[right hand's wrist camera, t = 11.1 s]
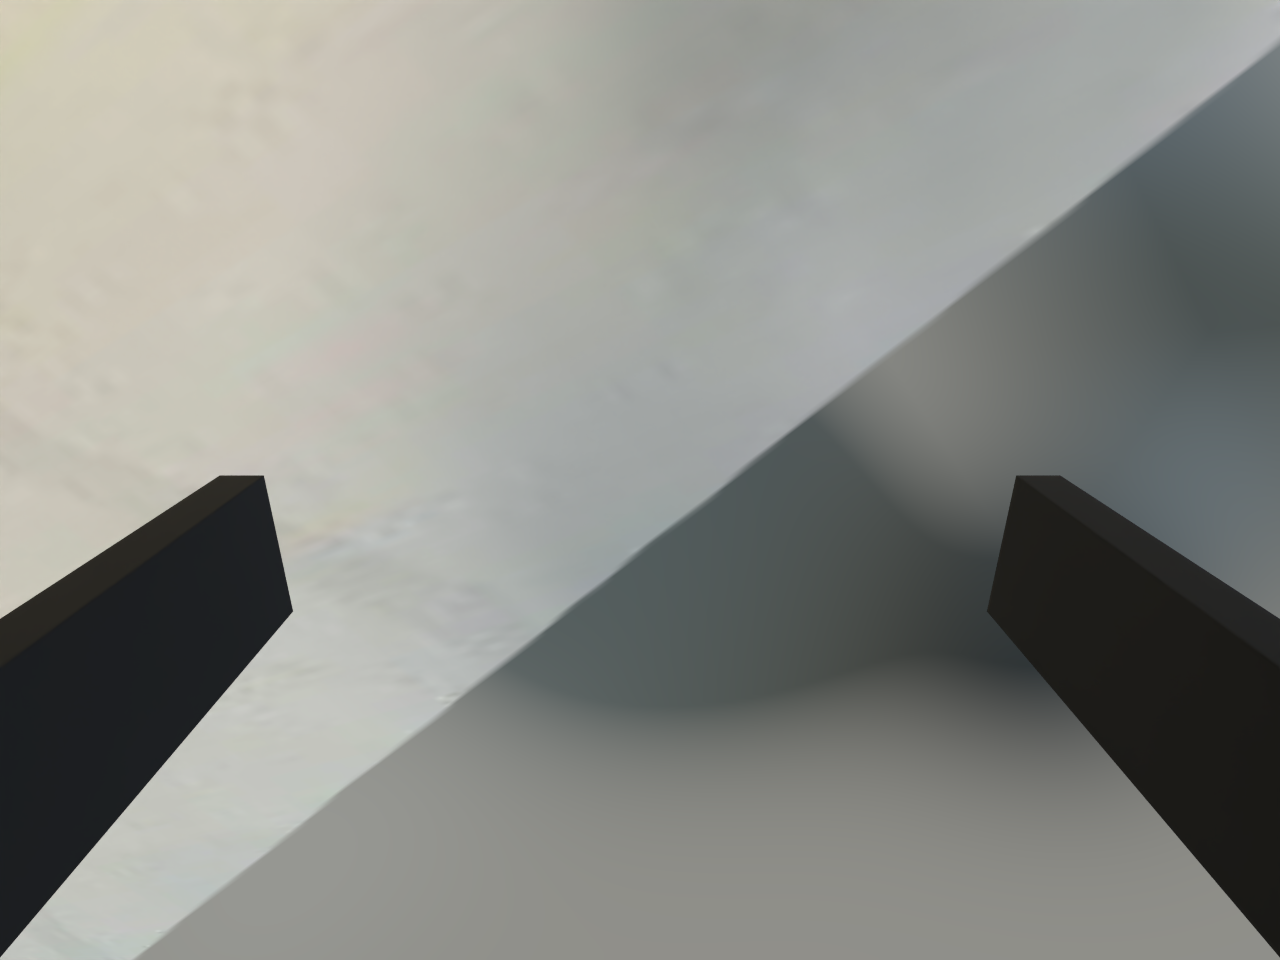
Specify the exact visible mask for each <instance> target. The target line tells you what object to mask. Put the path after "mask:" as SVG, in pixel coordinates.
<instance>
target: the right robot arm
mask: <svg viewBox="0 0 1280 960" xmlns="http://www.w3.org/2000/svg"><path fill="white" fill-rule="evenodd" d="M292 612H293V609H292V605H291V600H290V595H289V591H288V586H287V581H286V577H285V572H284V567H283V563H282V558H281V554H280V549H279V544H278V540H277V535H276V530H275V526H274V521H273V516H272V512H271V507H270V502H269V498H268V493H267V489H266V484H265V479H264V476H218V477H217V478H215V479H214V480H212V481H211V482H209V483H208V484H206V485H205V486H203V487H202V488H200V489H199V490H197V491H195V492H194V493H192V494H191V495H189V496H188V497H186V498H185V499H183V500H182V501H180V502H179V503H177V504H176V505H174V506H173V507H171V508H169V509H168V510H166V511H165V512H163V513H162V514H160V515H159V516H157V517H156V518H154V519H153V520H151V521H150V522H148V523H146V524H145V525H143V526H142V527H140V528H139V529H137V530H136V531H134V532H133V533H131V534H130V535H128V536H127V537H125V538H123V539H122V540H120V541H119V542H117V543H116V544H114V545H113V546H111V547H110V548H108V549H107V550H105V551H104V552H102V553H101V554H99V555H97V556H96V557H94V558H93V559H91V560H90V561H88V562H87V563H85V564H84V565H82V566H81V567H79V568H78V569H76V570H74V571H73V572H71V573H70V574H68V575H67V576H65V577H64V578H62V579H61V580H59V581H58V582H56V583H55V584H53V585H51V586H50V587H48V588H47V589H45V590H44V591H42V592H41V593H39V594H38V595H36V596H35V597H33V598H32V599H30V600H29V601H27V602H25V603H24V604H22V605H21V606H19V607H18V608H16V609H15V610H13V611H12V612H10V613H9V614H7V615H6V616H4V617H2V618H1V619H0V957H1V956H2V955H3V953H4V952H5V951H6V950H7V949H8V947H9V946H10V945H11V944H12V943H13V942H14V940H15V939H16V938H17V937H18V936H19V934H20V933H21V932H22V931H23V930H24V929H25V927H26V926H27V925H28V924H29V923H30V921H31V920H32V919H33V918H34V917H35V916H36V914H37V913H38V912H39V911H40V910H41V908H42V907H43V906H44V905H45V904H46V903H47V901H48V900H49V899H50V898H51V897H52V895H53V894H54V893H55V892H56V891H57V890H58V888H59V887H60V886H61V885H62V884H63V882H64V881H65V880H66V879H67V878H68V877H69V875H70V874H71V873H72V872H73V871H74V869H75V868H76V867H77V866H78V865H79V864H80V862H81V861H82V860H83V859H84V858H85V856H86V855H87V854H88V853H89V852H90V851H91V849H92V848H93V847H94V846H95V845H96V843H97V842H98V841H99V840H100V839H101V838H102V836H103V835H104V834H105V833H106V832H107V830H108V829H109V828H110V827H111V826H112V825H113V823H114V822H115V821H116V820H117V819H118V817H119V816H120V815H121V814H122V813H123V812H124V810H125V809H126V808H127V807H128V806H129V804H130V803H131V802H132V801H133V800H134V799H135V797H136V796H137V795H138V794H139V793H140V791H141V790H142V789H143V788H144V787H145V786H146V784H147V783H148V782H149V781H150V780H151V778H152V777H153V776H154V775H155V774H156V773H157V771H158V770H159V769H160V768H161V767H162V765H163V764H164V763H165V762H166V761H167V760H168V758H169V757H170V756H171V755H172V754H173V752H174V751H175V750H176V749H177V748H178V747H179V745H180V744H181V743H182V742H183V741H184V739H185V738H186V737H187V736H188V735H189V734H190V732H191V731H192V730H193V729H194V728H195V726H196V725H197V724H198V723H199V722H200V721H201V719H202V718H203V717H204V716H205V715H206V713H207V712H208V711H209V710H210V709H211V708H212V706H213V705H214V704H215V703H216V702H217V700H218V699H219V698H220V697H221V696H222V695H223V693H224V692H225V691H226V690H227V689H228V687H229V686H230V685H231V684H232V683H233V682H234V680H235V679H236V678H237V677H238V676H239V674H240V673H241V672H242V671H243V670H244V669H245V667H246V666H247V665H248V664H249V663H250V661H251V660H252V659H253V658H254V657H255V656H256V654H257V653H258V652H259V651H260V650H261V649H262V647H263V646H264V645H265V644H266V643H267V641H268V640H269V639H270V638H271V637H272V636H273V634H274V633H275V632H276V631H277V630H278V628H279V627H280V626H281V625H282V624H283V623H284V621H285V620H286V619H287V618H288V617H289V615H290V614H291V613H292ZM987 612H988V613H989V614H990V615H991V617H992V618H993V619H994V620H995V621H996V622H997V624H998V625H999V626H1000V627H1001V628H1002V630H1003V631H1004V632H1005V633H1006V634H1007V635H1008V637H1009V638H1010V639H1011V640H1012V641H1013V643H1014V644H1015V645H1016V646H1017V647H1018V649H1019V650H1020V651H1021V652H1022V653H1023V654H1024V656H1025V657H1026V658H1027V659H1028V660H1029V661H1030V663H1031V664H1032V665H1033V666H1034V667H1035V669H1036V670H1037V671H1038V672H1039V673H1040V674H1041V676H1042V677H1043V678H1044V679H1045V680H1046V682H1047V683H1048V684H1049V685H1050V686H1051V687H1052V689H1053V690H1054V691H1055V692H1056V693H1057V695H1058V696H1059V697H1060V698H1061V699H1062V700H1063V702H1064V703H1065V704H1066V705H1067V706H1068V708H1069V709H1070V710H1071V711H1072V712H1073V713H1074V715H1075V716H1076V717H1077V718H1078V719H1079V721H1080V722H1081V723H1082V724H1083V725H1084V726H1085V728H1086V729H1087V730H1088V731H1089V732H1090V734H1091V735H1092V736H1093V737H1094V738H1095V739H1096V741H1097V742H1098V743H1099V744H1100V745H1101V747H1102V748H1103V749H1104V750H1105V751H1106V752H1107V754H1108V755H1109V756H1110V757H1111V758H1112V760H1113V761H1114V762H1115V763H1116V764H1117V765H1118V767H1119V768H1120V769H1121V770H1122V771H1123V773H1124V774H1125V775H1126V776H1127V777H1128V778H1129V780H1130V781H1131V782H1132V783H1133V784H1134V786H1135V787H1136V788H1137V789H1138V790H1139V791H1140V793H1141V794H1142V795H1143V796H1144V797H1145V799H1146V800H1147V801H1148V802H1149V803H1150V804H1151V806H1152V807H1153V808H1154V809H1155V810H1156V811H1157V813H1158V814H1159V815H1160V816H1161V817H1162V819H1163V820H1164V821H1165V822H1166V823H1167V825H1168V826H1169V827H1170V828H1171V829H1172V830H1173V832H1174V833H1175V834H1176V835H1177V836H1178V838H1179V839H1180V840H1181V841H1182V842H1183V843H1184V845H1185V846H1186V847H1187V848H1188V849H1189V851H1190V852H1191V853H1192V854H1193V855H1194V856H1195V858H1196V859H1197V860H1198V861H1199V862H1200V864H1201V865H1202V866H1203V867H1204V868H1205V869H1206V871H1207V872H1208V873H1209V874H1210V875H1211V877H1212V878H1213V879H1214V880H1215V881H1216V882H1217V884H1218V885H1219V886H1220V887H1221V888H1222V890H1223V891H1224V892H1225V893H1226V894H1227V895H1228V897H1229V898H1230V899H1231V900H1232V901H1233V902H1234V904H1235V905H1236V906H1237V907H1238V908H1239V910H1240V911H1241V912H1242V913H1243V914H1244V915H1245V917H1246V918H1247V919H1248V920H1249V921H1250V923H1251V924H1252V925H1253V926H1254V927H1255V928H1256V930H1257V931H1258V932H1259V933H1260V934H1261V936H1262V937H1263V938H1264V939H1265V940H1266V941H1267V943H1268V944H1269V945H1270V946H1271V947H1272V949H1273V950H1274V951H1275V952H1276V953H1277V955H1278V956H1279V957H1280V619H1279V618H1278V617H1276V616H1274V615H1273V614H1271V613H1270V612H1268V611H1267V610H1265V609H1264V608H1262V607H1261V606H1259V605H1258V604H1256V603H1255V602H1253V601H1251V600H1250V599H1248V598H1247V597H1245V596H1244V595H1242V594H1241V593H1239V592H1238V591H1236V590H1235V589H1233V588H1232V587H1230V586H1229V585H1227V584H1225V583H1224V582H1222V581H1221V580H1219V579H1218V578H1216V577H1215V576H1213V575H1212V574H1210V573H1209V572H1207V571H1205V570H1204V569H1202V568H1201V567H1199V566H1198V565H1196V564H1195V563H1193V562H1192V561H1190V560H1189V559H1187V558H1186V557H1184V556H1183V555H1181V554H1179V553H1178V552H1176V551H1175V550H1173V549H1172V548H1170V547H1169V546H1167V545H1166V544H1164V543H1163V542H1161V541H1160V540H1158V539H1157V538H1155V537H1153V536H1152V535H1150V534H1149V533H1147V532H1146V531H1144V530H1143V529H1141V528H1140V527H1138V526H1137V525H1135V524H1133V523H1132V522H1130V521H1129V520H1127V519H1126V518H1124V517H1123V516H1121V515H1120V514H1118V513H1117V512H1115V511H1114V510H1112V509H1111V508H1109V507H1107V506H1106V505H1104V504H1103V503H1101V502H1100V501H1098V500H1097V499H1095V498H1094V497H1092V496H1091V495H1089V494H1088V493H1086V492H1085V491H1083V490H1081V489H1080V488H1078V487H1077V486H1075V485H1074V484H1072V483H1071V482H1069V481H1068V480H1066V479H1065V478H1063V477H1062V476H1016V480H1015V484H1014V489H1013V493H1012V498H1011V502H1010V507H1009V512H1008V516H1007V521H1006V526H1005V530H1004V535H1003V540H1002V544H1001V549H1000V554H999V558H998V563H997V567H996V572H995V577H994V581H993V586H992V591H991V595H990V600H989V605H988V609H987Z"/></svg>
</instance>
